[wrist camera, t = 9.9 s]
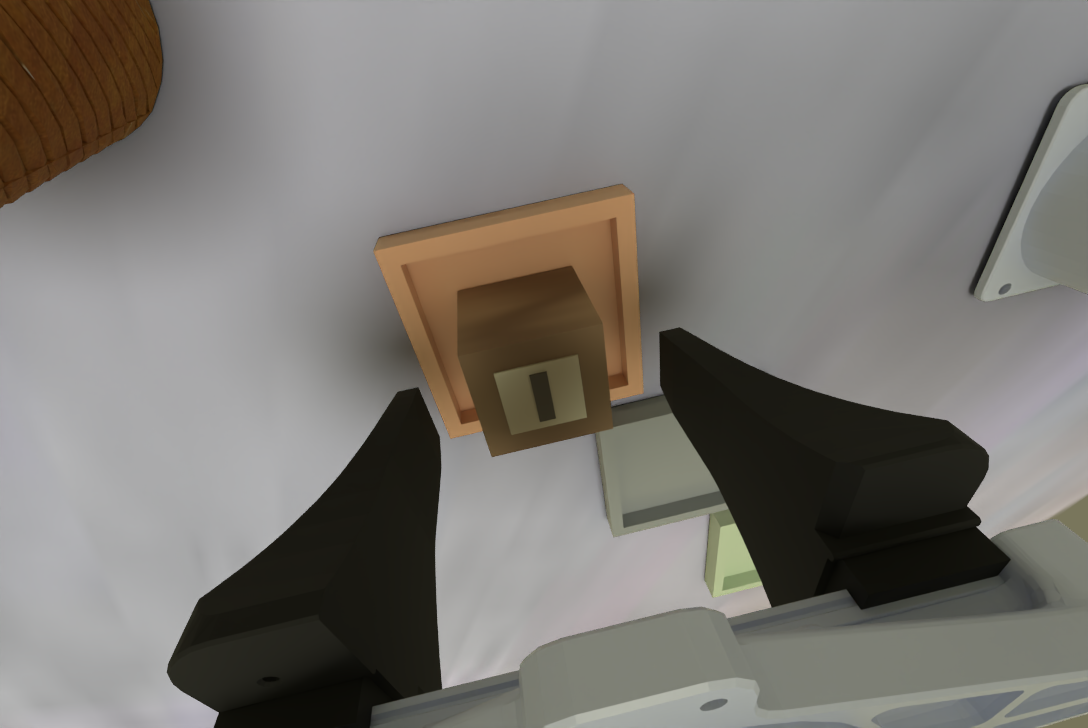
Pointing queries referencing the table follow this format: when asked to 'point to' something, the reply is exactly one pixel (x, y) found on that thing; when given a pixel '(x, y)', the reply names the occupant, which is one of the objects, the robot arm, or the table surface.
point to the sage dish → (728, 558)
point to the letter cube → (534, 360)
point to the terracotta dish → (507, 253)
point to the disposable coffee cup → (71, 83)
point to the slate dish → (652, 470)
